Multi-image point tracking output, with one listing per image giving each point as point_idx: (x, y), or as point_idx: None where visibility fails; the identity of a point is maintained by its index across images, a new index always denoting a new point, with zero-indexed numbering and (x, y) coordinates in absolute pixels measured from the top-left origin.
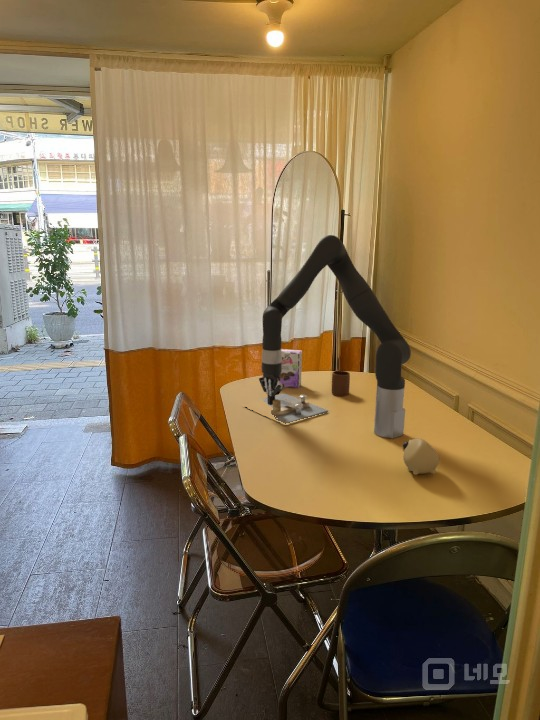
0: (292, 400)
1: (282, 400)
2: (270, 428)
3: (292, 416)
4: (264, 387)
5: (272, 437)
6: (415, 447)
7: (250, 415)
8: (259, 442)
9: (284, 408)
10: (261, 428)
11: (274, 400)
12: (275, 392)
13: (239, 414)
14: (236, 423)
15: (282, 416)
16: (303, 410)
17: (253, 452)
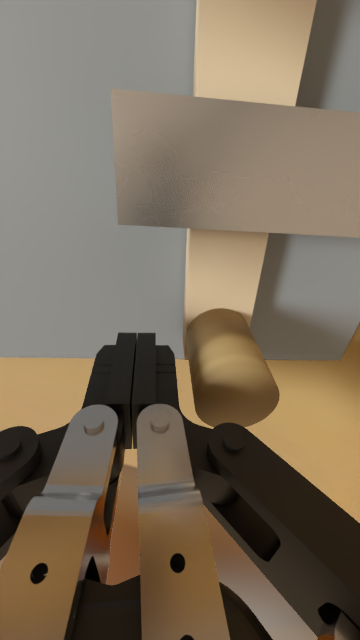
0: (266, 117)
1: (152, 225)
2: (284, 406)
3: (324, 253)
4: (4, 552)
5: (343, 440)
6: None
7: (79, 386)
8: (324, 476)
9: (231, 257)
10: (251, 427)
11: (216, 413)
12: (274, 531)
13: (34, 413)
14: (134, 460)
15: (261, 305)
16: (346, 13)
17: (345, 503)
